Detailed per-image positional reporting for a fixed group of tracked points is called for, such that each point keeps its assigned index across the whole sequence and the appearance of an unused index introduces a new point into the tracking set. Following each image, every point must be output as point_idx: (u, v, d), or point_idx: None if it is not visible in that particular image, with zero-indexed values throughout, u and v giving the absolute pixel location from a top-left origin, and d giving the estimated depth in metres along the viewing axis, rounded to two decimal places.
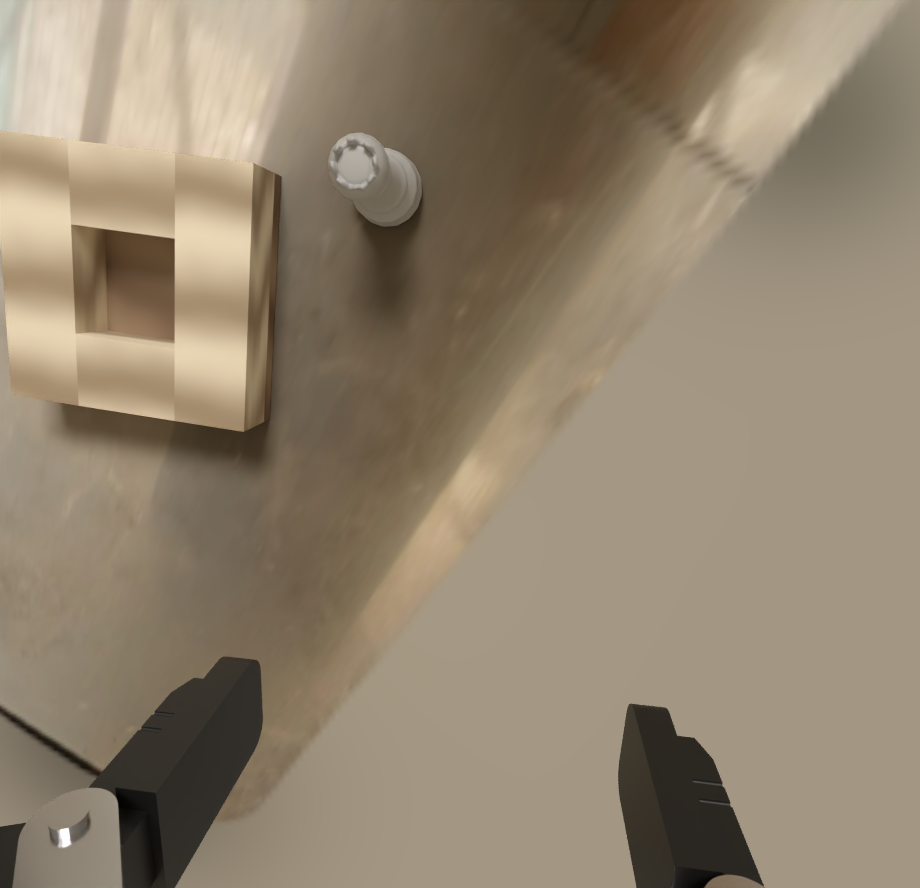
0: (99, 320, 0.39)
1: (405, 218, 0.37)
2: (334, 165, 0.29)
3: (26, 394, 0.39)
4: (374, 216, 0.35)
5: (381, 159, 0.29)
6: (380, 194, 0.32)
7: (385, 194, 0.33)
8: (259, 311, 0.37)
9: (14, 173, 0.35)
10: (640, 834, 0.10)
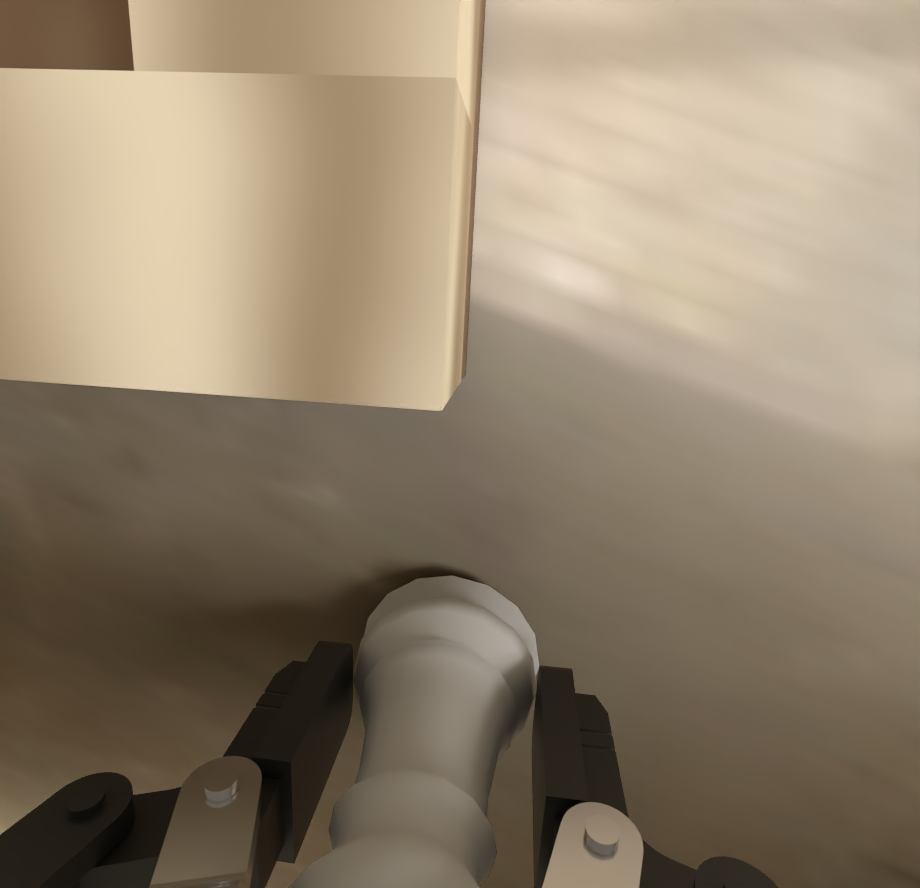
0: None
1: None
2: None
3: None
4: (362, 679, 0.13)
5: None
6: None
7: None
8: None
9: None
10: (536, 778, 0.11)
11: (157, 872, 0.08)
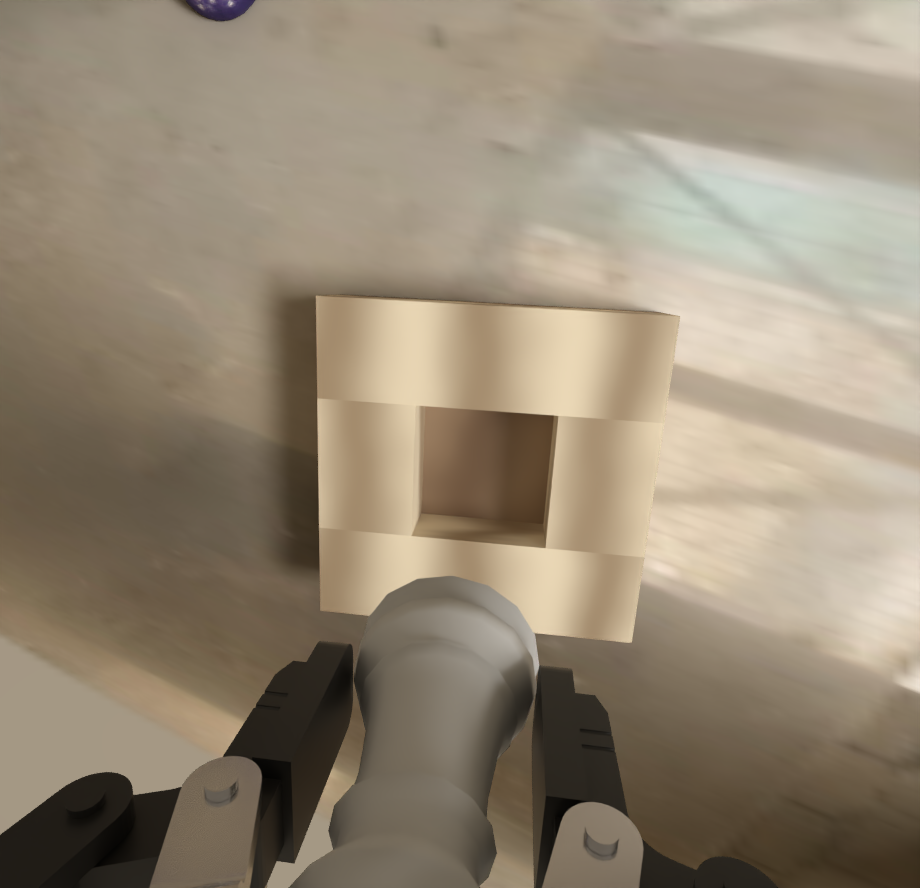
0: None
1: None
2: None
3: (320, 320, 0.27)
4: (362, 679, 0.13)
5: None
6: None
7: None
8: None
9: (622, 342, 0.25)
10: (536, 779, 0.11)
11: (157, 871, 0.08)
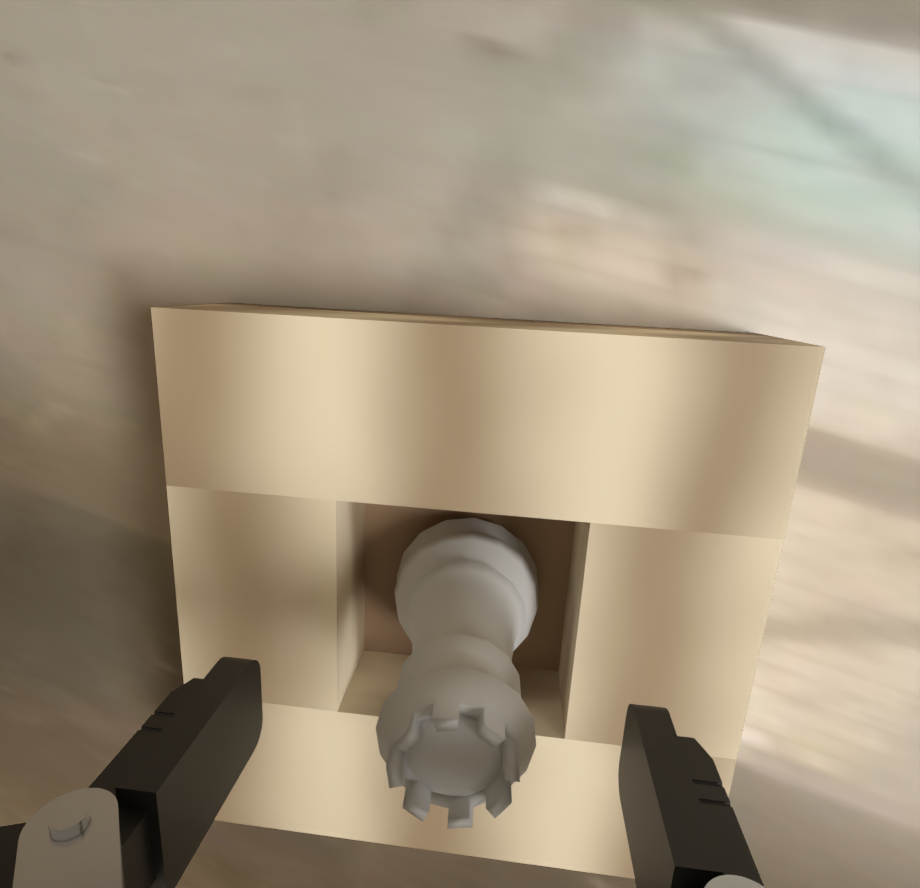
0: None
1: None
2: (446, 730, 0.11)
3: (161, 350, 0.15)
4: (403, 595, 0.17)
5: None
6: None
7: None
8: None
9: (712, 394, 0.14)
10: (640, 834, 0.10)
11: None
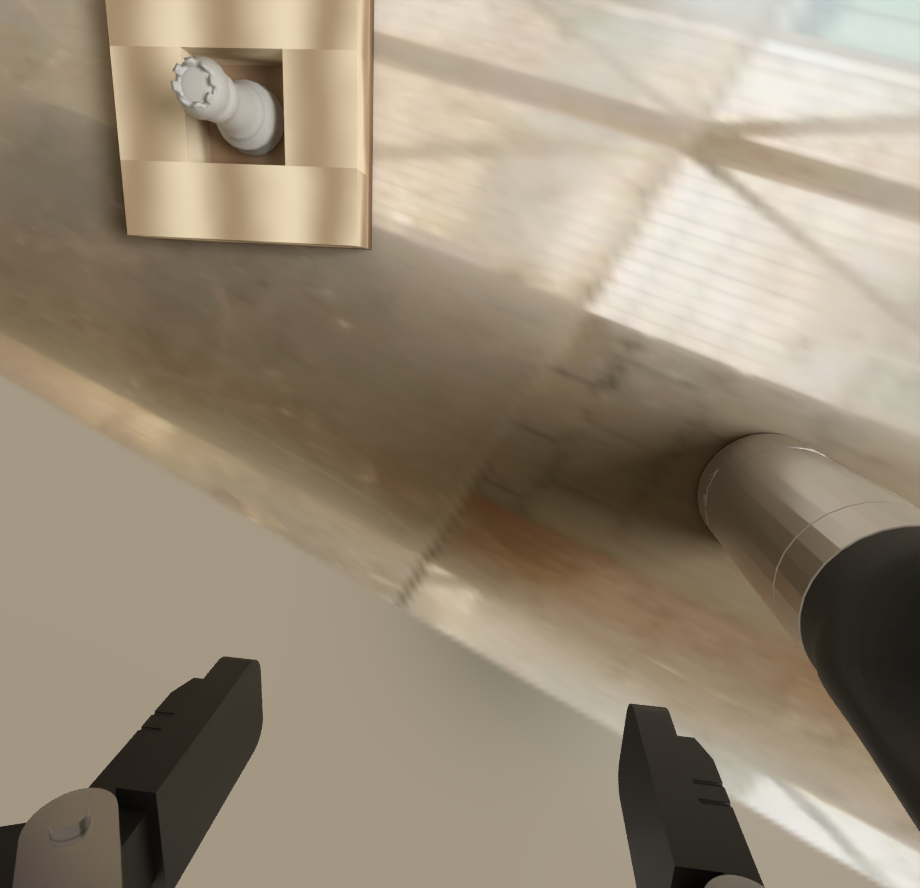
0: None
1: None
2: (188, 63, 0.32)
3: None
4: None
5: (205, 111, 0.33)
6: None
7: None
8: (245, 241, 0.41)
9: None
10: (640, 834, 0.10)
11: None
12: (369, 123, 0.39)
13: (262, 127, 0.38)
